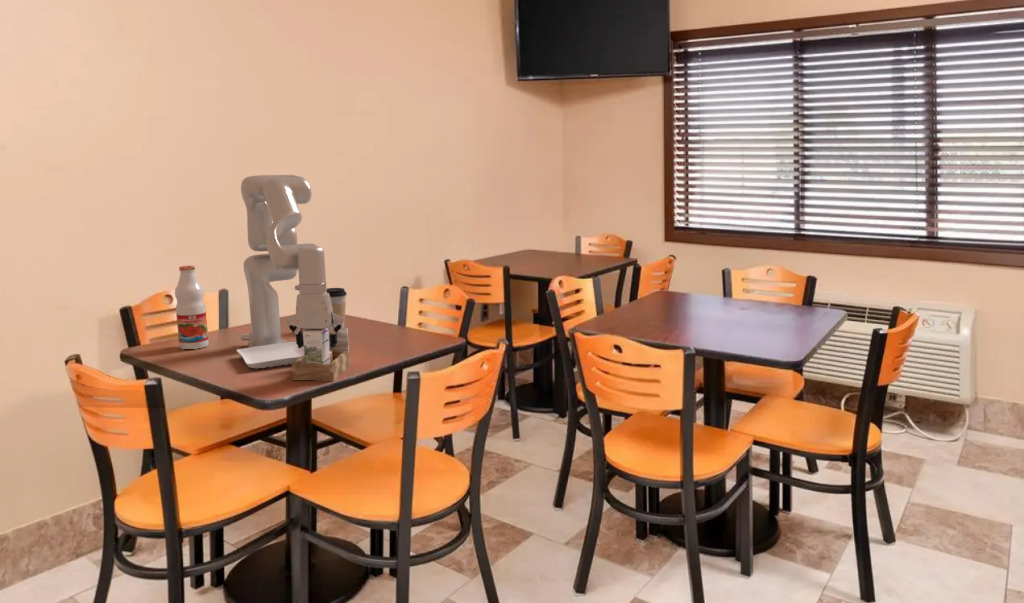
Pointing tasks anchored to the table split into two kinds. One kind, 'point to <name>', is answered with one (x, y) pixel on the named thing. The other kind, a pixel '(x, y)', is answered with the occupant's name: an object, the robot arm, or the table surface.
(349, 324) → the table surface
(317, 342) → the syrup box
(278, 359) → the salad plate
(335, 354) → the wooden box
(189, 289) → the fruit juice
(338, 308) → the coffee cup
